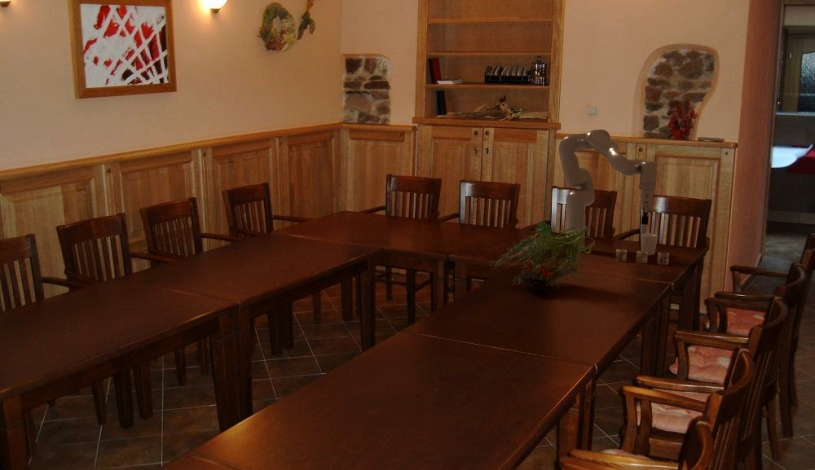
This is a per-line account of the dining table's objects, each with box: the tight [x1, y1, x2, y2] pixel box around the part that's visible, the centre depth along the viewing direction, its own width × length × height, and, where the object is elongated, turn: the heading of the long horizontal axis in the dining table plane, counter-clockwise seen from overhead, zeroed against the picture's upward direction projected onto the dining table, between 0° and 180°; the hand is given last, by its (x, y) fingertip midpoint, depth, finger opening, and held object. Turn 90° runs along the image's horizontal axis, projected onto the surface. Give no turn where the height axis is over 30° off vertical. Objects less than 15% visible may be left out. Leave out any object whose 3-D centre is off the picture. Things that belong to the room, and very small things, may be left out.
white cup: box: [640, 232, 658, 256], centre depth 436 cm, size 8×8×10 cm
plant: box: [488, 220, 599, 292], centre depth 364 cm, size 35×35×40 cm
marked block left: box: [615, 248, 628, 262], centre depth 422 cm, size 5×5×5 cm
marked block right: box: [656, 251, 670, 266], centre depth 416 cm, size 5×5×5 cm
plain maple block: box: [635, 250, 649, 264], centre depth 419 cm, size 5×5×5 cm
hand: (644, 223), depth 416 cm, fingers open, 3 cm apart
